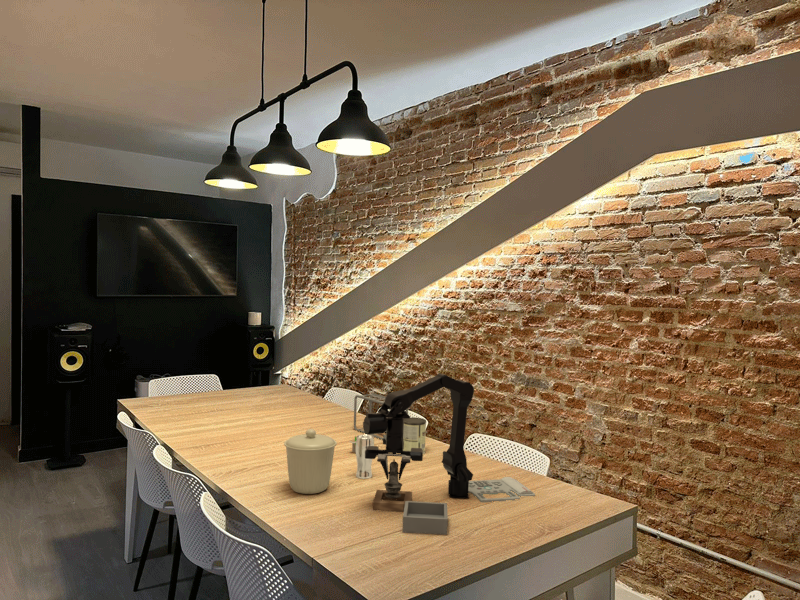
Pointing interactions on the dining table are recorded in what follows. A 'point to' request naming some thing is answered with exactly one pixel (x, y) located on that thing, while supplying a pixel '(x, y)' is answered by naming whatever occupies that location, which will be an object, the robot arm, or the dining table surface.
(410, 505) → the bin
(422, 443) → the coffee can
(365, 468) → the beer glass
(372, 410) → the newton's cradle
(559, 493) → the dining table surface
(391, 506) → the socket block
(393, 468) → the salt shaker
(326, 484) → the canister
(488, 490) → the grey cutout plate
